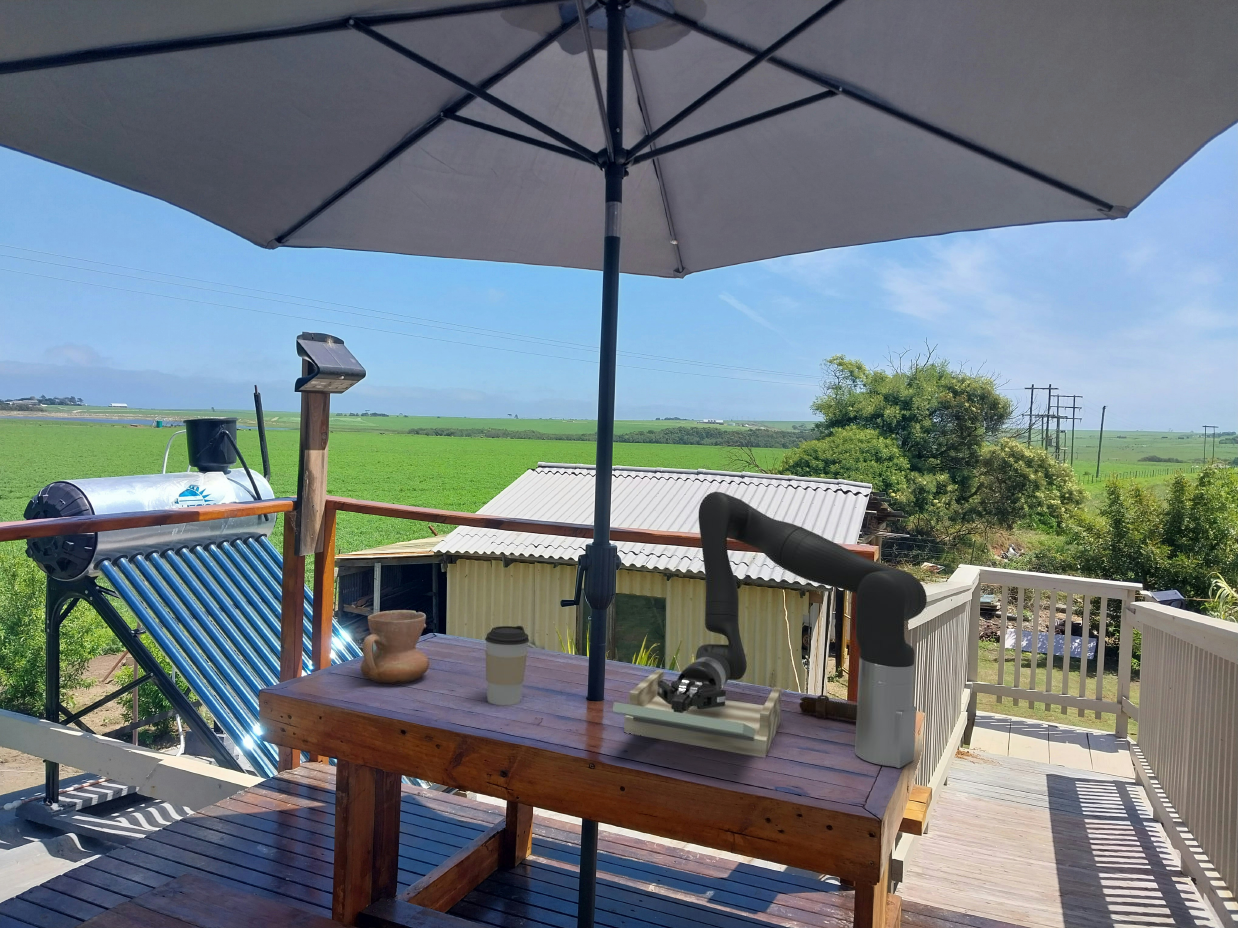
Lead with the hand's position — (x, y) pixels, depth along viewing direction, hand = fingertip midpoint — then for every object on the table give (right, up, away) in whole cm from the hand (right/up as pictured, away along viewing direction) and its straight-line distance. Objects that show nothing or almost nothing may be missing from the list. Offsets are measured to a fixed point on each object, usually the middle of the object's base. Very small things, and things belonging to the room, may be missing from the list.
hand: (678, 706), depth 123 cm
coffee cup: (-34, -9, +31) cm, 46 cm away
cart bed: (+7, -11, +20) cm, 24 cm away
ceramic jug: (-60, -8, +41) cm, 73 cm away
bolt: (+35, -13, +30) cm, 48 cm away
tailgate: (+4, -7, +11) cm, 14 cm away
